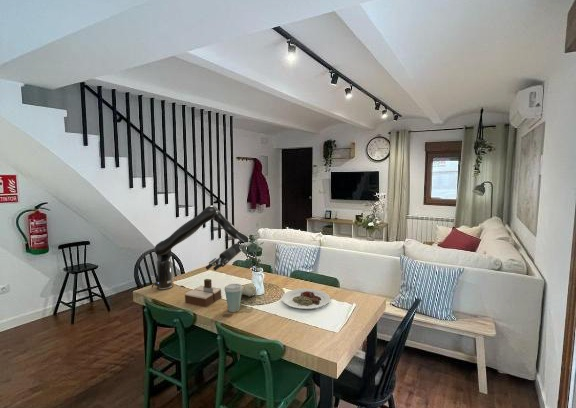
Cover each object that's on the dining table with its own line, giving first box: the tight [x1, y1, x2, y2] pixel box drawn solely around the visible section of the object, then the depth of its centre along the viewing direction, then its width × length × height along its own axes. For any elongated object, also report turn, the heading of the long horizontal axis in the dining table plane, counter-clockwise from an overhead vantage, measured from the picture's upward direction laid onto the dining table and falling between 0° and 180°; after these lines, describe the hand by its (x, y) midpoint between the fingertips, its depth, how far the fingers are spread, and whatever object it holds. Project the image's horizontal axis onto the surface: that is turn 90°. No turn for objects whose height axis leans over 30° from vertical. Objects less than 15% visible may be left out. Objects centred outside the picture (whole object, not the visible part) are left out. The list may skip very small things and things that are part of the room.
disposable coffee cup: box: [223, 283, 244, 313], centre depth 184 cm, size 11×11×15 cm
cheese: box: [241, 282, 257, 298], centre depth 206 cm, size 15×7×15 cm
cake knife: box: [203, 278, 213, 293], centre depth 197 cm, size 7×2×14 cm, turn 66°
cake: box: [184, 284, 222, 308], centre depth 199 cm, size 16×15×6 cm
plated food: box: [281, 288, 331, 310], centre depth 195 cm, size 30×30×3 cm
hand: (210, 269), depth 199 cm, fingers open, 8 cm apart
